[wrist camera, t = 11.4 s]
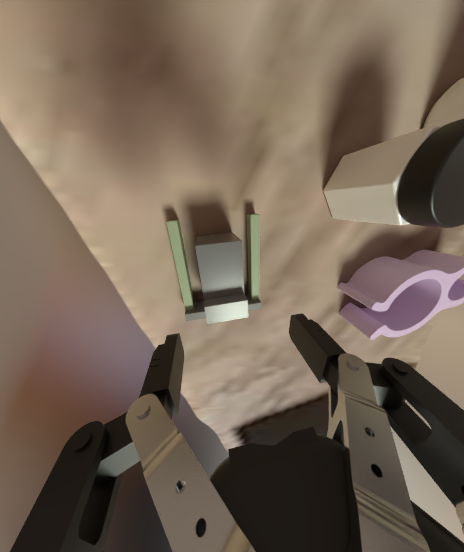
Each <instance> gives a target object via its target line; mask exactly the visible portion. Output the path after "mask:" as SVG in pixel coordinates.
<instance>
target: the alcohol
mask: <svg viewBox="0 0 464 552" xmlns="http://www.w3.org/2000/svg"><path fill="white" fill-rule="evenodd" d="M463 118H464V78H462V79H460V80H458V81H457V82H456V83H455V84H453V85H452V86H451V87H450V88H449V89H448V90H447V91H446V92H445V93H444V94H443V95H442V96H441V97H440V98H439V99H438V100H437V101H436V103H435V104H434V106H433V107H432V109H431V110H430V112H429V114H428V116H427V118H426V120H425V123H424V126H423V128H426V127H429V126H432V125H446V124H449V123H451V122H454V121H457V120H460V119H463Z"/></svg>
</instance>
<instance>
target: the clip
mask: <svg viewBox="0 0 464 552" xmlns="http://www.w3.org/2000/svg"><path fill="white" fill-rule="evenodd" d="M463 274H464V257H460V256H455V255H450V254H445V253H440V252H435V251H430V250H420V251H417V252H415V253H413V254H412V255H410V256H409V257H407V258H406V259H403V260H399V259H396V258H392V257H379V258H376V259H373V260H371V261H369V262H367V263H366V264H364V265H363V266H362V267H360V268H359V269H358V270H357V271H356V272H355V273H354V274H353V276H352V277H351V278H350V280H349V282H348V283H340V284H339V285H338V287H337V288H338V289H339V290H341V291H342V292H344V293H345V294H347V295H349V296H350V297H352V298H354V299H355V300H357V301H359V302H360V303H362V304H364V305H365V306H367V308H359V307H357V306H355V305H354V304H352V303H348V304H347V305H345V306H344V307H343V308H342V310H341V311H340V312H339V315H340V316H342V317H343V318H344V319H346V320H347V321H348V322H349V323H351V324H352V325H353V326H354V327H356V328H357V329H358V330H360V331H361V332H362V333H363V334H365V335H366V336H367V337H368V338H370V339H371V340H374V339H375V338H376V337H378V336H379V335H380V334H383V335H384V336H387V337H399V336H403V335H406V334H408V333H411V332H413V331H414V330H416V329H418V328H419V327H421V326H422V325H424V324H425V323H426V322H427V321H429V320H430V319H431V318H432V317H433V316H434V315H435V314H436V313H438V312H439V311H441V310H443V309H445V308H451V307H454V306H457V305H459V304H462V303H463V302H464V280H460V279H458V278H459V277H460V276H462V275H463Z"/></svg>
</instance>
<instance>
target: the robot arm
mask: <svg viewBox="0 0 464 552" xmlns="http://www.w3.org/2000/svg"><path fill="white" fill-rule="evenodd" d="M289 334H290V338H291V340H292V341H293V343H294V344H295V346H296V347H297V349H298V350H299V352H300V353H301V355H302V356H303V358H304V359H305V361H306V363H307V364H308V366H309V367H310V369H311V370H312V372H313V373H314V375H315V376H316V378H317V379H318V381H319V382H320V383H323V382H327V383H328V384H329V427H328V435H327V437H326V436H323V435H319V434H316V432H315V430H314V428H313V427H310V428H307V429H303V430H299V431H295V432H293V433H291V434H290V435H289V436H287V437H286V438H285V439H283V440H282V441H281V442H279V443H278V444H276V445H274V446H271V445H261V444H247V445H243V446H239V447H235V448H232V449H228V450H229V457H228V458H227V459H225V460H224V461H223V462H222V463H221V464H220V465H219V466H218V467H217V468H216V469H215V471H214V472H213V474H212V475H211V477H210V479H209V478H208V476H207V475H206V473H205V472H204V470H203V468H202V467H201V465H200V463H199V462H198V460H197V458H196V457H195V455H194V454H193V452H192V451H191V449H190V447H189V446H188V444H187V443H186V441H185V439H184V437H183V436H182V434H181V433H180V432H179V431H178V430H177V429H176V427H175V425H174V424H173V422H172V416H176V415H178V410H179V400H180V391H181V382H182V373H183V363H184V350H183V346H182V342H181V338H180V334H179V333H178V334H172V335H167V337H166V340H165V344H162V345H159V346H158V347H157V348H156V350H155V351H154V353H153V355H152V359H151V362H150V365H149V369H148V372H147V375H146V378H145V381H144V384H143V387H142V390H141V394H140V396H139V398H138V399H137V400H136V401H135V402H134V403H133V404H132V405H131V407H130V408H129V410H128V411H127V412H126V413H124V414H123V415H122V416H119V417H118V418H116V419H114V420H112V421H110V422H108V423H106V424H105V425H103V424H102V423H101V422H99V421H94V422H90V423H88V424H86V425H84V426H83V427H81V428H80V429H79V430H78V431H76V432H75V433H74V434H73V435H72V436H71V438H70V439H69V440H68V441H67V443H66V444H65V446H64V448H63V450H62V452H61V453H60V456H59V457H58V459H57V461H56V463H55V465H54V467H53V469H52V471H51V473H50V475H49V477H48V479H47V481H46V483H45V485H44V487H43V488H42V490H41V493H40V494H39V496H38V498H37V500H36V502H35V504H34V506H33V508H32V510H31V512H30V514H29V516H28V518H27V520H26V522H25V524H24V525H23V527H22V529H21V531H20V533H19V535H18V537H17V539H16V541H15V543H14V545H13V547H12V549H11V551H10V552H103V551H104V547H105V543H106V539H107V534H108V531H109V527H110V523H111V518H112V514H113V511H114V506H115V502H116V498H117V494H118V490H119V486H120V482H121V478H122V474H123V472H124V471H125V470H127V469H128V468H130V467H131V466H133V465H134V464H136V463H137V462H139V461H141V463H142V466H143V473H144V477H145V479H146V482H147V485H148V488H149V490H150V493H151V496H152V498H153V501H154V504H155V506H156V509H157V511H158V514H159V517H160V519H161V522H162V525H163V527H164V530H165V533H166V535H167V538H168V541H169V543H170V546H171V549H172V551H173V552H464V543H463V542H462V541H461V540H459V539H458V538H457V537H455V536H454V535H453V534H452V533H451V532H449V531H448V530H447V529H446V528H444V527H443V526H442V525H441V524H440V523H438V522H437V521H436V520H434V519H433V518H432V517H431V516H430V515H428V514H427V513H426V512H425V511H423V510H422V509H421V508H420V507H418V506H417V505H416V504H415V503H413V502H412V501H411V500H410V497H409V493H408V490H407V486H406V482H405V479H404V475H403V471H402V468H401V464H400V461H399V458H398V453H397V450H396V446H395V442H394V439H393V435H392V432H391V428H390V426H391V427H392V428H393V430H394V431H395V432H396V433H397V434H398V436H399V437H400V438H401V440H402V441H403V442H404V443H405V445H406V446H407V447H408V448H409V450H410V451H411V452H412V453H413V454H414V456H415V457H416V458H417V460H418V461H419V462H420V463H421V465H422V466H423V467H424V469H425V470H426V471H427V472H428V474H429V475H430V476H431V477H432V479H433V480H434V481H435V482H436V484H437V485H438V486H439V487H440V489H441V490H442V491H443V492H444V494H445V495H446V496H447V497H448V499H449V500H450V501H451V502H452V504H453V505H454V506H455V508H456V512H457V515H458V518H459V520H460V522H461V524H462V526H463V527H462V531H463V533H464V410H463V409H461V408H460V407H459V406H458V405H457V404H455V403H454V402H453V401H452V400H451V399H449V398H448V397H447V396H446V395H445V394H443V393H442V392H441V391H440V390H439V389H437V388H436V387H435V386H434V385H432V384H431V383H430V382H429V381H428V380H426V379H425V378H424V377H423V376H422V375H420V374H419V373H418V372H417V371H416V370H414V369H413V368H412V367H411V366H409V365H408V364H406V363H405V362H403V361H401V360H398V359H395V358H385V359H384V360H383V361H382V363H381V364H376V363H366V362H364V361H363V360H362V359H360V358H359V357H357V356H355V355H352V354H347V353H346V352H345V351H344V350H343V349H342V348H341V347H340V346H339V345H338V344H337V343H336V342H335V341H334V340H333V339H332V338H331V337H330V336H329V335H328V334H327V332H326V331H325V330H323V328H322V327H321V326H320V325H319V324H318V323H316V322H314V321H313V320H311V319H310V320H308V319H307V318H306V316H305V315H304V314H296V315H292V316H291V320H290V328H289ZM405 400H407V401H408V402H409V403H410V404H411V405H412V406H413V407H414V408H415V409H416V410H417V411H418V412H419V413H420V414H421V415H422V416H423V417H424V418H425V420H426V421H427V422H428V423H429V425H430V426H431V429H432V430H431V429H430V428H429V427H428V426H427V425H426V424H425V423H424V422H423V421H422V419H420V417H419V416H418V415H417V414H416V413H415V412H414V411H413V410H412V409H411V408H410V407H409V406H408V405H407V404H406V403H405Z"/></svg>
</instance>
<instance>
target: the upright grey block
mask: <svg viewBox="0 0 464 552" xmlns="http://www.w3.org/2000/svg"><path fill="white" fill-rule="evenodd" d="M195 249H196V255H197V261H198V267H199V273H200V279H201V285H202V291H203V297H204V308H205V314H206V320H207V324H212V323H217V322H223V321H229V320H234V319H240V318H246V317H248V300H247V298H246V296H245V294H244V276H243V254H242V240H240V239H239V238H238V237H237V236H236V235H235V234H233V233H232V232H231V233H222V234H212V235H202V236H196V242H195Z"/></svg>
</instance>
